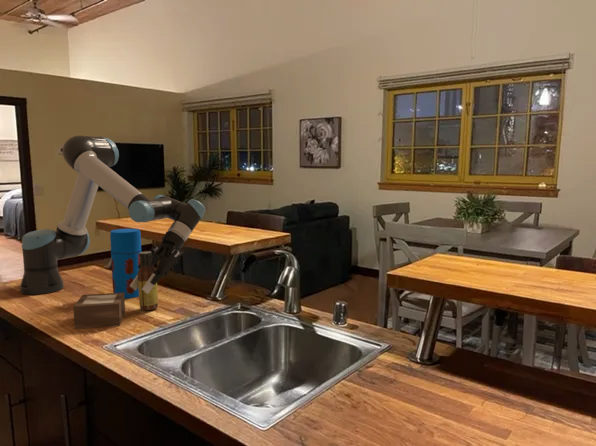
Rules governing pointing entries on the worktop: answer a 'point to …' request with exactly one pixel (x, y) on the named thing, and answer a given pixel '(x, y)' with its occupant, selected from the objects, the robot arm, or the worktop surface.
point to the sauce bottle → (144, 274)
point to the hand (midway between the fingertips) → (138, 289)
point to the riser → (99, 310)
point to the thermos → (125, 260)
